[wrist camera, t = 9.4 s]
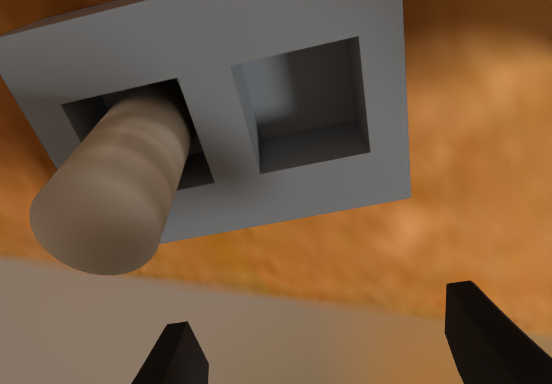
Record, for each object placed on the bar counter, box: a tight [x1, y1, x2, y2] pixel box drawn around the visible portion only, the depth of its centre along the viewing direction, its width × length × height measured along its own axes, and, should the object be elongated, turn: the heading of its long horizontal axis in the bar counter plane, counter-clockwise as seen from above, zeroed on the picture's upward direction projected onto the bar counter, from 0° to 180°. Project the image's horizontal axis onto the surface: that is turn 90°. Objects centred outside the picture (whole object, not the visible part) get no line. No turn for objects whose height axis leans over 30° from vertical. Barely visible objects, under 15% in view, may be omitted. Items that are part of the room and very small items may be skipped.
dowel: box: [30, 79, 196, 275], centre depth 14 cm, size 3×3×8 cm
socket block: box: [0, 0, 411, 244], centre depth 16 cm, size 13×9×4 cm
